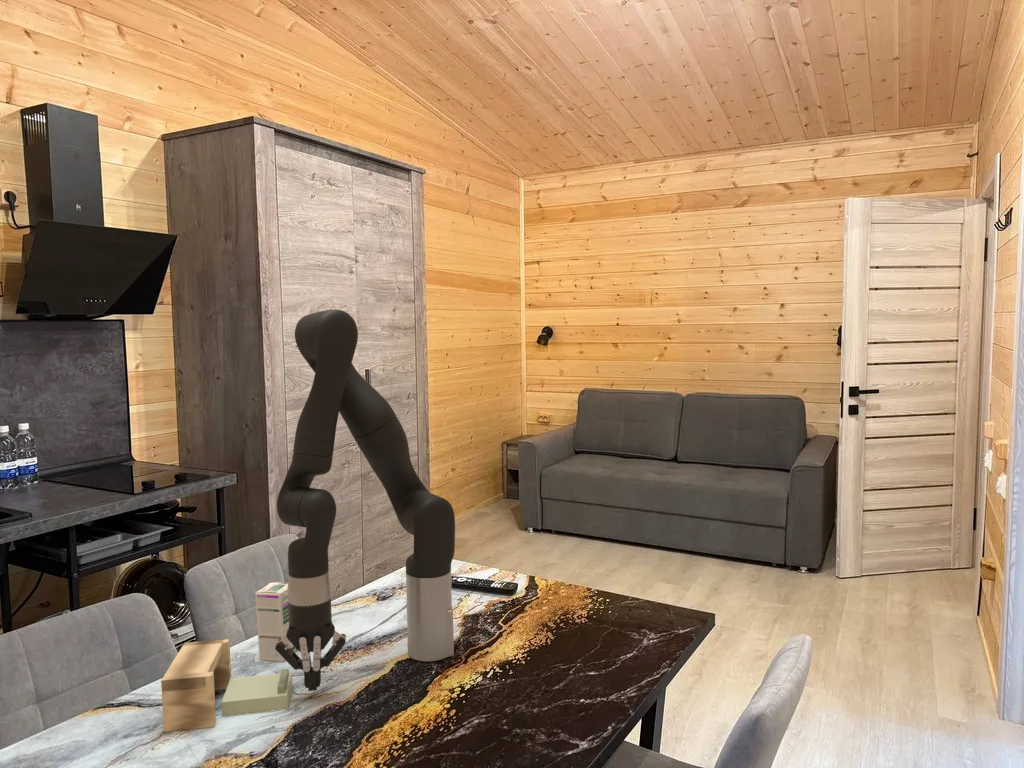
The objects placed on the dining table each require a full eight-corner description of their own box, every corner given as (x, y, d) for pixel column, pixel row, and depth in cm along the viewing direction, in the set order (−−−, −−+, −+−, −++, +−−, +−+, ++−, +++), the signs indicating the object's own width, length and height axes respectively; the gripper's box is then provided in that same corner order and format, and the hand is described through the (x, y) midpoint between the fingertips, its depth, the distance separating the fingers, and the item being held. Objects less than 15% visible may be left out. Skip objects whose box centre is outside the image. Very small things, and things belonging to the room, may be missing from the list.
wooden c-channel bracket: (231, 684, 141) (229, 639, 140) (214, 726, 126) (211, 675, 126) (187, 689, 140) (184, 642, 139) (164, 731, 125) (161, 680, 124)
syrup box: (284, 662, 150) (281, 592, 149) (257, 660, 151) (254, 590, 150) (298, 650, 156) (295, 582, 155) (272, 648, 157) (269, 581, 156)
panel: (292, 687, 141) (291, 666, 140) (287, 711, 132) (286, 688, 132) (231, 693, 139) (230, 672, 138) (222, 718, 130) (221, 695, 130)
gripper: (347, 586, 140) (350, 675, 141) (274, 592, 137) (278, 682, 139) (346, 601, 132) (349, 695, 134) (268, 607, 130) (272, 702, 131)
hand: (312, 688), depth 136 cm, fingers closed
